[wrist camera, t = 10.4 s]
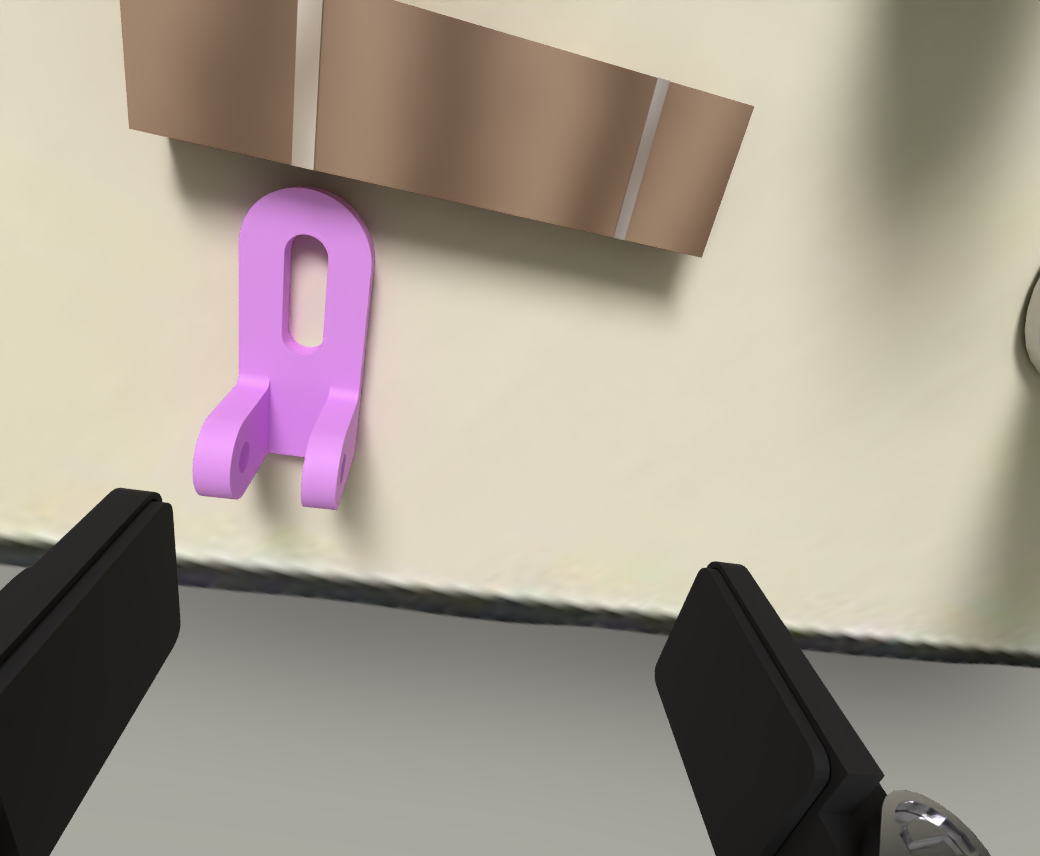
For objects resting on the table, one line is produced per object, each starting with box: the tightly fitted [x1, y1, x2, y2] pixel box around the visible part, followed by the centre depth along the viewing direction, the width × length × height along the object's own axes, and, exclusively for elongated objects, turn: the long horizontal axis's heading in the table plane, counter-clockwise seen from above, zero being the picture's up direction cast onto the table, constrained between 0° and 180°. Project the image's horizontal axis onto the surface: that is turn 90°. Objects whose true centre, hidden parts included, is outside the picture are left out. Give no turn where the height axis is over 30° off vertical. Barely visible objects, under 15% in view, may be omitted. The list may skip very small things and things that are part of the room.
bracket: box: [193, 186, 375, 510], centre depth 24 cm, size 13×6×7 cm, turn 168°
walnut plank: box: [120, 0, 754, 257], centre depth 22 cm, size 23×6×3 cm, turn 78°
